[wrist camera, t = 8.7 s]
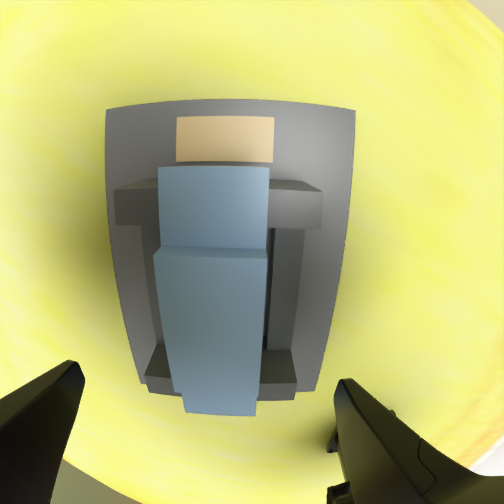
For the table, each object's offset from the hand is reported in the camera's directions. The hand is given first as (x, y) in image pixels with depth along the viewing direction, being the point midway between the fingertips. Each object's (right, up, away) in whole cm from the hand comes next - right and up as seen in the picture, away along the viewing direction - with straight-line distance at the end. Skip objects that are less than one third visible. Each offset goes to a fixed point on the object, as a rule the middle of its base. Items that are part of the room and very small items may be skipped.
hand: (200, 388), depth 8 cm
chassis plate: (0, +3, +9) cm, 10 cm away
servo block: (0, +3, +8) cm, 9 cm away
